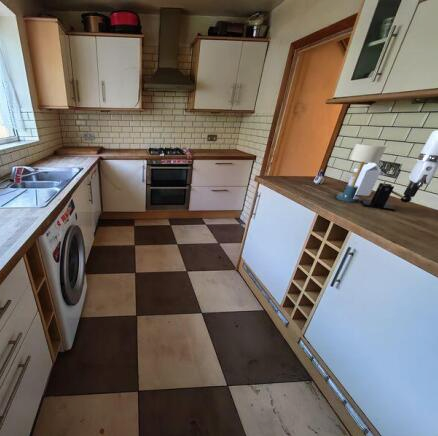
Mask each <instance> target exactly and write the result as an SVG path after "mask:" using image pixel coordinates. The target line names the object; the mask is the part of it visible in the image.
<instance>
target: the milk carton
mask: <svg viewBox="0 0 438 436" xmlns="http://www.w3.org/2000/svg"><path fill="white" fill-rule="evenodd" d="M380 175H381V170H380V168H379V166H378V164H377V163H369V162H367V163H366V164H364V165H363V167H362V170H361V172H360V174H359V176H358V179H357V181H356V183H355V185H356V186H358V189H357V191H356V193H355V196H364V197H370V195H371V193H372V191H373V189H374V187H375V185H376V183H377V181H378V179H379V177H380Z"/></svg>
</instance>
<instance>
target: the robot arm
mask: <svg viewBox="0 0 438 436" xmlns="http://www.w3.org/2000/svg"><path fill="white" fill-rule="evenodd" d="M416 161H417V162H416V163H415V165H414V167H413V168H412V170H411V172H410V173H409V175H408V181H409V183H408V185H407V187H406V189H405V190H404V192H403V196H409V197H411V198H414V197H415V196H416V194H417V193H418V191H419V190H420V188H423V186H424V185H430V184H431V182H432V180H433V178H434V176H435V174H436V172H437V170H438V129H435V130H433V131H432V132H431V133H430V135H429V137H428V138H427V140H426V142H425V144H424V146H423V148H422V149H421V151H420V153H419V155H418V157H417V158H416Z"/></svg>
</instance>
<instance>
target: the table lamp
mask: <svg viewBox="0 0 438 436" xmlns="http://www.w3.org/2000/svg"><path fill="white" fill-rule="evenodd" d="M386 148H387V145H384V144H378V143H367V142H366V143H365V142H356V143H355V144H354V146H353V149H352V151H351V154H350V156H349V160H351V161H356V162H360V164H359V166H358V171H357V173H356V175H355V178H354V180H353V182H352V185H348V184H346V186H345V188H344V191H343V192H340V193H339V192H338V193H337V194H336V196H335V198H336V199H337V200H339V201H342V202H347V203H359V201H360V200H361V199H360V197H359V195H355V193H356V191H357V189H358V186H356V185H355V183H356V181H357V179H358V176H359V174H360V172H361V170H362V167H363V166H364V165H365V163H376V164H377V163H380V161H381V159H382V157H383V154H384V152H385V151H386Z"/></svg>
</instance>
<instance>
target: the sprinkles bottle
mask: <svg viewBox="0 0 438 436" xmlns="http://www.w3.org/2000/svg"><path fill="white" fill-rule="evenodd" d="M358 168H359V167H358ZM358 168H357V167H356V168H355V167H354V169H353V172H352V175H351V176H350V179H349V181H348V184H347V185H352V182H353V180H354V178H355V175H356V173H357V171H358Z"/></svg>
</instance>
